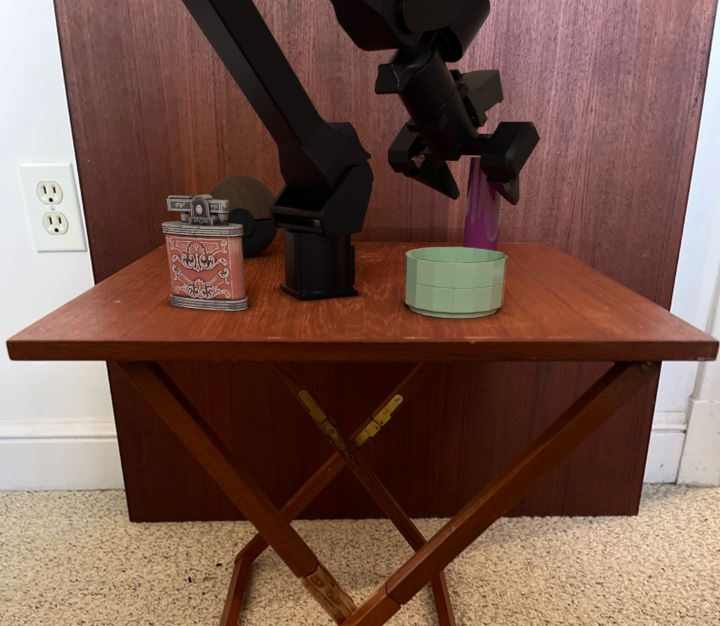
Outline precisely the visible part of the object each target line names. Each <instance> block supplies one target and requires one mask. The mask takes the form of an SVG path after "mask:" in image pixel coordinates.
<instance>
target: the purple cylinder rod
mask: <svg viewBox="0 0 720 626" xmlns="http://www.w3.org/2000/svg"><path fill="white" fill-rule="evenodd" d="M467 170H468V171H467V185H466V197H465V198H466V199H465V200H466V201H465V211H464V213H465V215H464V227H463V228H464V229H463V242H462V243H463V244H462V247H471V248H481V249H489V250H494V251H498V249H499V239H500V238H499V237H500V230H501V229H500V227H501V216H502V206H503V197H502V196H501V195H500V194H499V193H498V192H497V191H496V190H495V189H494V188H493V187H492V186H491V185H490V184H489V183H488V182H487V181H486V179H487V178H488V176H487V175H485V174H484V173H483V171H482V170H481V168H480V156H468V168H467ZM498 252H499V251H498Z"/></svg>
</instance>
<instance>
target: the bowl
mask: <svg viewBox="0 0 720 626" xmlns="http://www.w3.org/2000/svg"><path fill="white" fill-rule="evenodd" d="M508 259H509V256H508V254H506V253H504V252H502V251H494V250H489V249H481V248H471V247H463V246H431V247H429V246H428V247H420V248H415V249H410V250H408V251H406V252H405V253H404V275H403V277H404V279H403V282H404V283H403V302H404V303H405V304H406V305H408V309H409V310H410V311H412V312H413V313H416V314H419V315H423V316H427V317H434V318H441V319H474V318H475V319H477V318H482V317H488V316H490V315H494V314H496V313H497V311H498V309H499V308H501V307H502V305H504V302H505V301H504V299H505V289H506V280H507V269H508Z"/></svg>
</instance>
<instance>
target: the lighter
mask: <svg viewBox="0 0 720 626" xmlns="http://www.w3.org/2000/svg"><path fill="white" fill-rule="evenodd" d="M166 206H167V211H175V212H176V211H177V212H178V211H179V212H181V213H180V220H181V221H180V220H178V221H177V220H175V221H174V220H173V221H165V222H161V228H162V233H164V237H165V244H166V245H165V246H166V253H167V260H168V261H167V262H168V269H169V270H168V271H169V280H170V281H169V282H170V288H171V293H170V294H169V296H170V304H171V305H172V306H176V307H183V308H190V309H198V310H212V311H230V312H231V311H232V312H233V311H242V310H246V309H248V308H249V300H248V296H246V282H245V268H244V257H243V252H242V237H241V235H242V234H243V225H240V224H230V223H228V221H227V220H228V216H229V215H228V212H229V201H228V200H214V199H213V197H212V196H211V195H210V193H208V194H207V193H205V194H198V195H197V194H196V195H194V197H193V195H168V197H167V198H166Z"/></svg>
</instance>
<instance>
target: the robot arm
mask: <svg viewBox="0 0 720 626" xmlns="http://www.w3.org/2000/svg"><path fill="white" fill-rule="evenodd" d="M180 1H181V2H182V4H183V5H184V6H185V8H186V9H187V11H188V12H189V14H190V16H191V17H192V18H193V20H194V21H195V23H196V24H197V26H198V27H199V29H200V31H201V32H202V34H203V35H204V37H205V38H206V39H207V41H208V42H209V44H210V46H211V47H212V49H213V50H214V52H215V53H216V55H217V56H218V58H219V59H220V61H221V62H222V64H223V66H224V67H225V68H226V70H227V71H228V73H229V74H230V76H231V77H232V79H233V81H234V82H235V83H236V85H237V87H238V88H239V89H240V91H241V92H242V94H243V95H244V97H245V99H246V100H247V102H248V103H249V104H250V106H251V108H252V109H253V110H254V112H255V114H256V115H257V117H258V118H259V120H260V121H261V122H262V124H263V126H264V127H265V129H266V130H267V132H268V133H269V135H270V136H271V138H272V139H273V141H274V143H275V145H276V147H277V152H278V153H277V155H278V162H279V173H280V174H281V176H282V178H283V181H284V185H283V186H282V187H281V189H280V190H279V192H278V194H277V195H276V196H275V197H274V198H275V199H274V201H273V202H272V204H271V205H270V207H269V213H270V216H271V219H272V222H273V225H274V227H275V228H278V229H283V230H282V231H283V256H284V257H283V258H284V277H285V278H284V279H285V280H284V281H285V282H281V283H279V289H281V290H283V291H285V292H286V293H288V294H290V295H292V296H293V297H296V298H298V299H299V300H300V299H301V300H309V299H319V298H320V299H321V298H331V297H338V296H339V297H340V296H349V295H357V294H359V288H357V287H354V286H355V285H356V246H355V245H354V243H352V235H353V234H360V233H362V231H363V227H364V224H365V219H366V216H367V211H368V208H369V204H370V200H371V196H372V192H373V182H374V181H375V177H374V171H373V169H372V166H371V164H370V162H369V161H368V160H370V159H372V154H371V153H369V152H368V151H367V150H366V149H365V148H364V146H363V145H362V142H361V140H360V138H359V135H358V132H357V130H356V128H355V127H354V126H353V124H352V123H351V122H350V121H327V120H325V119H324V118H323V117H322V115H321V114H320V113H319V110H318V109H317V107H316V105H315V104H314V103H313V100H312V99H311V97H310V96H309V94H308V92H307V90H306V88H305V87H304V86H303V83H302V82H301V80H300V78H299V77H298V74H296V72H295V70H294V69H293V67H292V64H291V63H290V62H289V60H288V58H287V56H286V55H285V53H284V51H283V49H282V48H281V47H280V44H279V43H278V41H277V39H276V37H275V36H274V35H273V33H272V31H271V29H270V28H269V26H268V24H267V22H266V21H265V19H264V17H263V15H262V14H261V12H260V11H259V8H258V6H257V5H256V4H255V2H254V0H180ZM329 2H330V3H331V5H332V8H333V12H334V15H335V19H336V22H337V23H338V25H339V26H340V27H341V29H342V30H343V31H344V32H345V34H346V35H347V36H348V37H349V39H350V40H351V41H352V42H353V44H354V45H355V46H356V47H357V48H358V49H360V50H361V51H363V52H367V53H368V52H369V53H370V52H379V51H390V50H394V52H393V53H392V55H391V56H390V57H389V59H388V61H387V62H385V63H379V64H378V65H377V75H376V76H377V77H376V78H375V81H374V90H373V91H374V93H375V95H377V96H378V95H397V96H398V98H399V100H400V101H401V104H402V105H403V106H404V108H405V110H406V112H407V113H408V116H409V117H410V118H409V119H408V121H405V122H404V124H403V125H402V127H401V129H400V130H399V131H398V133H397V135H396V137H395V138H394V140H393V141H392V142H391V144H390V146H389V147H388V149H387V163H388V164H389V166H390V168H391V170H392V171H393V172H394V173H395V174H402V175H403V176H404V177H405V178H410V179H412V180H414V181H416V182H418V183H420V184H423V185H424V186H427V187H428V188H429V189H432V190H434V191H436V192H437V193H440V194H441V195H444V196H446V197H448V198H449V199H450V200H453V201H457V200H458V199H459V197H460V195H461V192H460V189H459V186H458V184H457V182H456V179H455V177H454V175H453V172H452V171H451V169H450V166H449V165H448V163H447V162H459V161H460V159H461V157H463V156H468V157H470V156H480V168H481V170H482V171H483V173H484V174H485V175H487V176H488V178H487V179H486V181H487V182H488V183H489V184H490V185H491V186H492V187H493V188H494V189H495V190H496V191H497V192H498V193H499V194H500V195H501V196H502V199H504V200H505V201H506V202H508V203H509V204H510V205H512V206H516V205H518V202H519V201H520V198H521V197H520V173H521V171H522V170H523V168H524V166H525V165H526V163H527V161H529V158H530V157H531V155H532V153H533V152H534V150H535V149H536V146H538V143H539V142H540V140H541V137H540V135H539V132H538V129H537V127H536V125H535V123H534V121H500V122H499V123H498V124H497V126H496V127H495V130H494V131H493V133H479V131H478V130H480V129H479V128H483V127H484V126H485V124H486V123H487V121H488V120H489V118H488V115H487V112H488V111H490V110H491V109H492V108H493V107H494V106H496V105H497V104H501V103H502V102H503V101H504V99H505V96H504V91H503V85H502V84H503V83H502V79H501V72H500V70H499V69H496V68H494V69H479V70H471V71H469V72H462V73H461V70H459V69H458V68H450V69H449V67H448V65H447V63H448V64H449V63H450V64H454V63H457V62H460V60H462V59H463V57H464V55H465V54H466V52H467V51H468V49H469V47H470V46H471V44H472V43H473V41H474V39H475V38H476V36H477V35H478V34H479V32H480V31H481V29H482V27H483V25H484V24H485V22H486V21H487V19H488V17H489V16H490V13H491V0H329Z"/></svg>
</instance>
